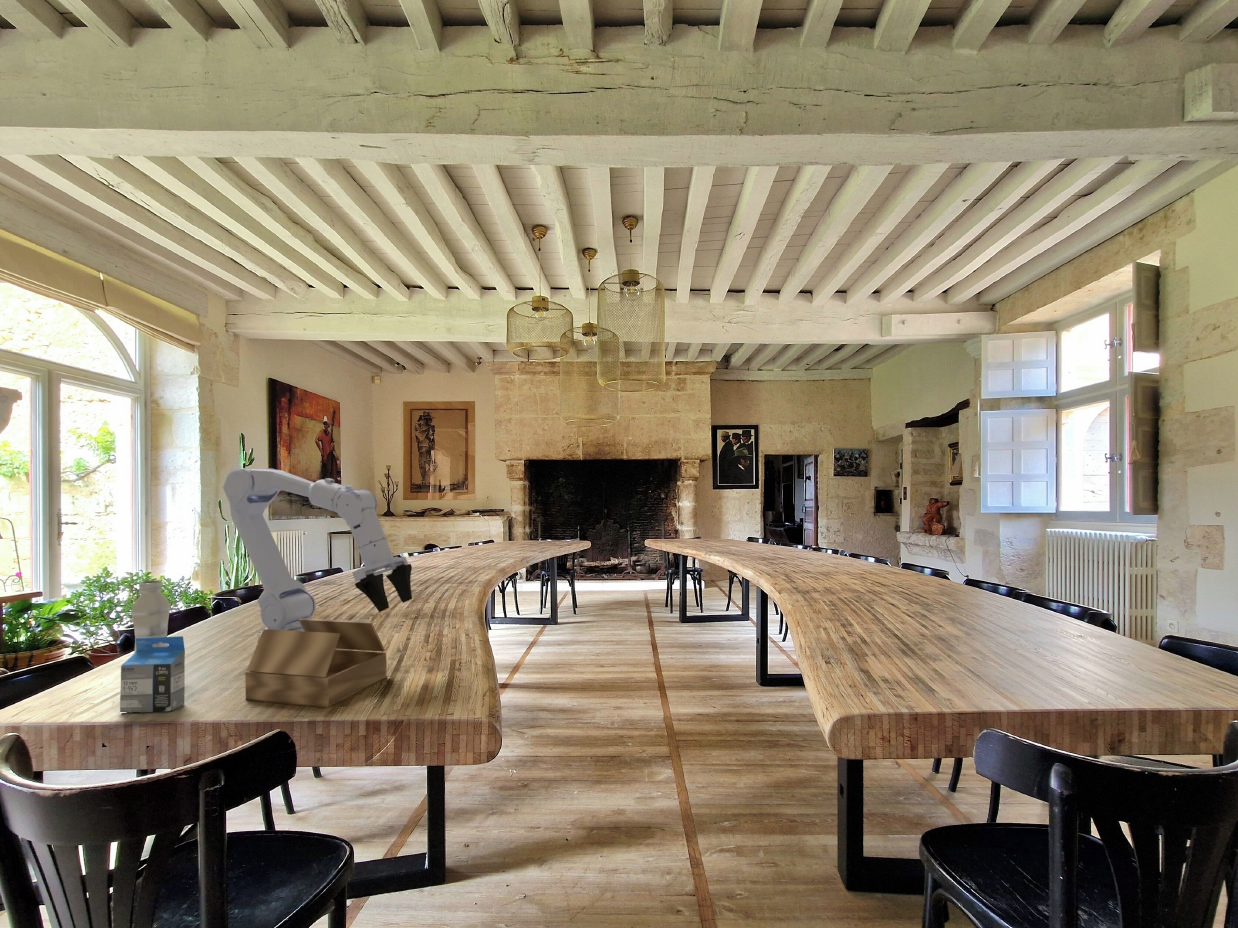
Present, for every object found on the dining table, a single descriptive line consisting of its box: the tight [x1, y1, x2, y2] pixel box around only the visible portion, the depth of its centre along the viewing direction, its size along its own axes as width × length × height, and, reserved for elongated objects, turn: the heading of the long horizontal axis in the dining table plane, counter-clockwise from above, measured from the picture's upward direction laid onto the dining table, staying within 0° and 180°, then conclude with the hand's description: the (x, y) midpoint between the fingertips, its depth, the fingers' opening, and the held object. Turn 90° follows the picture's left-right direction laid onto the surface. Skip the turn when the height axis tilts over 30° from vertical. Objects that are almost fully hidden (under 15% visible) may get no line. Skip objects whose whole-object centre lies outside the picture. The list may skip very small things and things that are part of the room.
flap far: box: [299, 618, 386, 652], centre depth 120 cm, size 17×8×1 cm
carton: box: [244, 649, 388, 709], centre depth 114 cm, size 18×16×5 cm
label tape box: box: [119, 635, 186, 713], centre depth 106 cm, size 9×4×12 cm, turn 92°
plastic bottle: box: [130, 579, 171, 654], centre depth 122 cm, size 6×7×20 cm
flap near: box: [246, 628, 340, 677], centre depth 108 cm, size 17×8×1 cm
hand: (396, 605), depth 123 cm, fingers open, 7 cm apart
